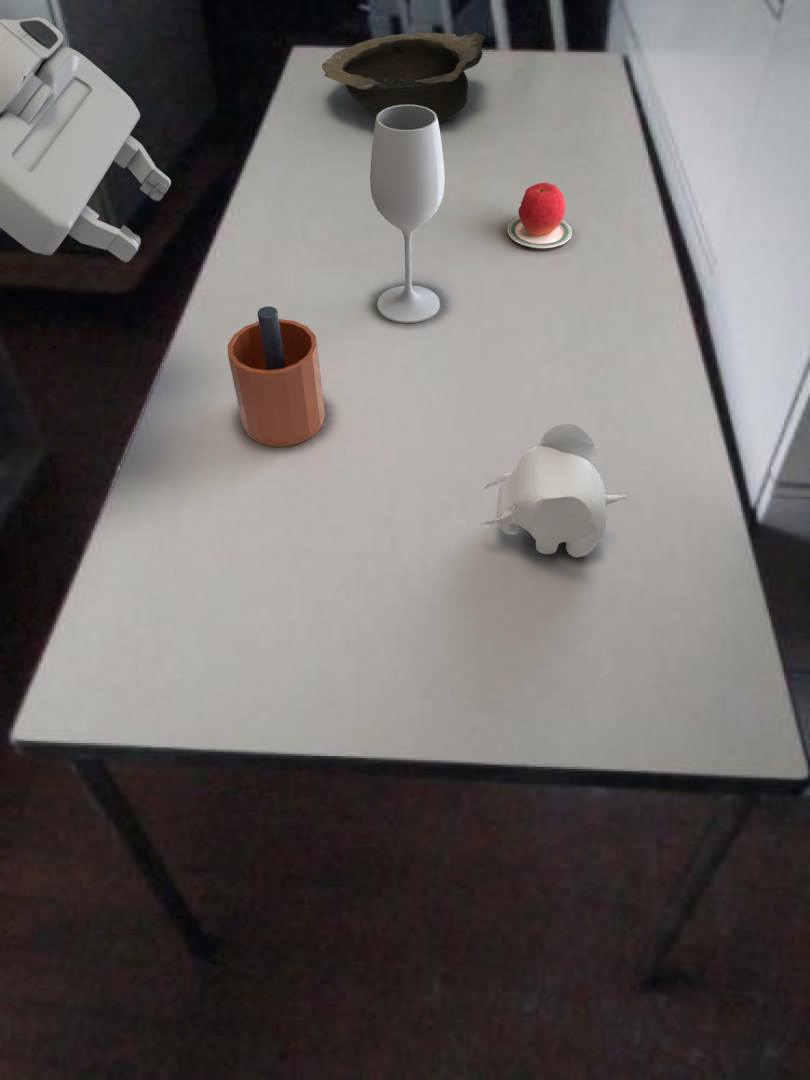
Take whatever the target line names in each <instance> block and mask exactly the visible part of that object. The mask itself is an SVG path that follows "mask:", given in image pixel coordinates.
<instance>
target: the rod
mask: <svg viewBox="0 0 810 1080" xmlns="http://www.w3.org/2000/svg"><path fill="white" fill-rule="evenodd" d="M278 312H279V311H278V309H277V308H276V307H275V306H263V307H261V308H259V309H258V310H257V313H256V314H257V320H258V322H259V326H260V332H261V338H262V344H263V350H264V356H265V362H266V367H267V370H275V369H283V368H286V365H285V358H284V352H283V345H282V338H281V331H280V325H279V319H280V318H279V313H278Z"/></svg>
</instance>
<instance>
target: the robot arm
mask: <svg viewBox="0 0 810 1080" xmlns="http://www.w3.org/2000/svg"><path fill="white" fill-rule="evenodd" d="M63 42H64V34H63V33H62V32H61V31H60V29H58V28H57V27H56V26H55V25H54V24H53V23H51V22H50V21H49V20H48V19H46V18H44V17H41V16H40V17H38V16H37V17H31V18H23V19H8V18H1V19H0V229H2V230H3V231H4V232H5V233H6V234H8V235H9V236H10V237H12V238H13V239H14V240H15V241H17V243H19V244H20V245H22V246H23V247H24V248H26V249H27V250H28V251H30V252H31V253H34V254H39V255H44V256H52V255H53V254H54V253H55V252H56V251H57V250H58V248H59V247H60V245H61V244H62V243H63V241H64V240H65V238H66V237H67V235H69V236H70V237H72V238H73V239H74V240H76V241H77V242H78V243H80V244H82V245H85V246H90V247H94V248H98V249H102V250H105V251H106V250H107V251H108V252H109V253H111V254H112V255H114V256H115V257H116V258H118V259H119V260H121V262H124V263H127V262H130V261H131V260H132V259H133V257H134V256H135V255H136V253H137V252H138V250H139V248H140V246H141V244H142V239H141V236H139V235H138V234H136V233H134V232H133V231H132V230H131V229H130V228H129V227H127V226H126V225H125V224H122V226H121V227H120V228H118V227H115V226H113V225H111V224H108V223H106V222H104V221H101V220H99V217H100V214H99V213H97V212H96V211H95V210H93V209H92V208H91V207H90V206H89V205H87V204H88V202H89V201H90V199H91V197H92V196H93V194H94V193H95V191H96V189H97V188H98V186H99V185H100V183H101V182H102V180H103V178H104V177H105V175H106V173H107V172H108V170H109V169H110V167H111V165H112V163H113V162H115V163H116V164H117V165H118V166H119V167H120V168H122V169H125V168H126V167H127V168H128V170H129V171H130V172H131V173H132V175H133V176H134V177H135V178H136V179H137V181H138V182H139V184H141V185H140V187H139V190H140V191H141V192H143V193H144V194H145V195H146V196H149V198H150V199H152V200H153V201H154V202H160V201H161V200H162V199H163V197H164V196H165V195H166V193H167V192H168V191H169V189H170V187H171V184H172V180H171V179H170V177H168V176H167V175H166V174H165V173H164V172H163V171H161V170H160V169H159V168H158V167H157V166H156V164H155V162H153V160H152V158H151V156H150V154H149V153H148V152H147V150H146V148H145V147H144V146H143V144H142V143H141V142H139V140H137V139H136V138H134V136H132V135H131V133H132V131H133V129H134V128H135V127H136V125H137V123H138V121H140V119H141V113H140V111H139V109H138V106H136V104H135V102H134V101H133V98H131V97H130V95H128V94H127V92H126V91H124V90H123V89H122V87H120V85H118V84H117V83H116V82H115V81H114V80H113V79H112V78H110V76H108V75H107V74H106V73H105V72H103V70H102V69H100V68H99V66H97V65H95V64H94V63H93V62H92V61H91V60H90V59H89V58H87V57H86V56H85V55H83V54H82V53H81V52H79V51H77V50H76V49H74V48H72V47H68V46H61V45H62V43H63Z"/></svg>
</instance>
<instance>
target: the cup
mask: <svg viewBox="0 0 810 1080" xmlns="http://www.w3.org/2000/svg"><path fill="white" fill-rule="evenodd" d="M279 325H280V331H281V338H282V345H283V352H284V358H285V365H286V368H283V369H275V370H267V367H266V362H265V356H264V350H263V344H262V338H261V332H260V326H259V321H256V322H253V323H251V324H247V325H245V326H243V327H242V328H240V329H239V330H238V331H237V332H235V333H234V334H233V335H232V337H231V338H230V340H229V342H228V343H227V357H228V362H229V366H230V367H229V368H230V373H231V377H232V381H233V387H234V391H235V396H236V400H237V404H238V410H239V414H240V420H241V424H242V426H243V429H244V432H245V434H247V436H248V437H249V438H251V439H252V440H253V441H254V442H257V443H258V444H261V445H264V446H268V447H277V448H283V447H284V448H285V447H290V446H291V447H292V446H295V445H299V444H302V443H304V442H306V441H308V440H310V439H311V438H313V437H314V436H316V435H317V434H318V433H319V431H321V429H322V427H323V425H324V423H325V418H326V412H325V402H324V395H323V394H324V393H323V384H322V377H321V375H322V374H321V368H320V367H321V366H320V357H319V349H318V343H317V341H318V340H317V335H316V334H315V333H314V332H313V331H312V330H311V329H310V328H309V326H307V325H304V324H302V323H300V322H298V321H296V320H291V319H283V318H279Z"/></svg>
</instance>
